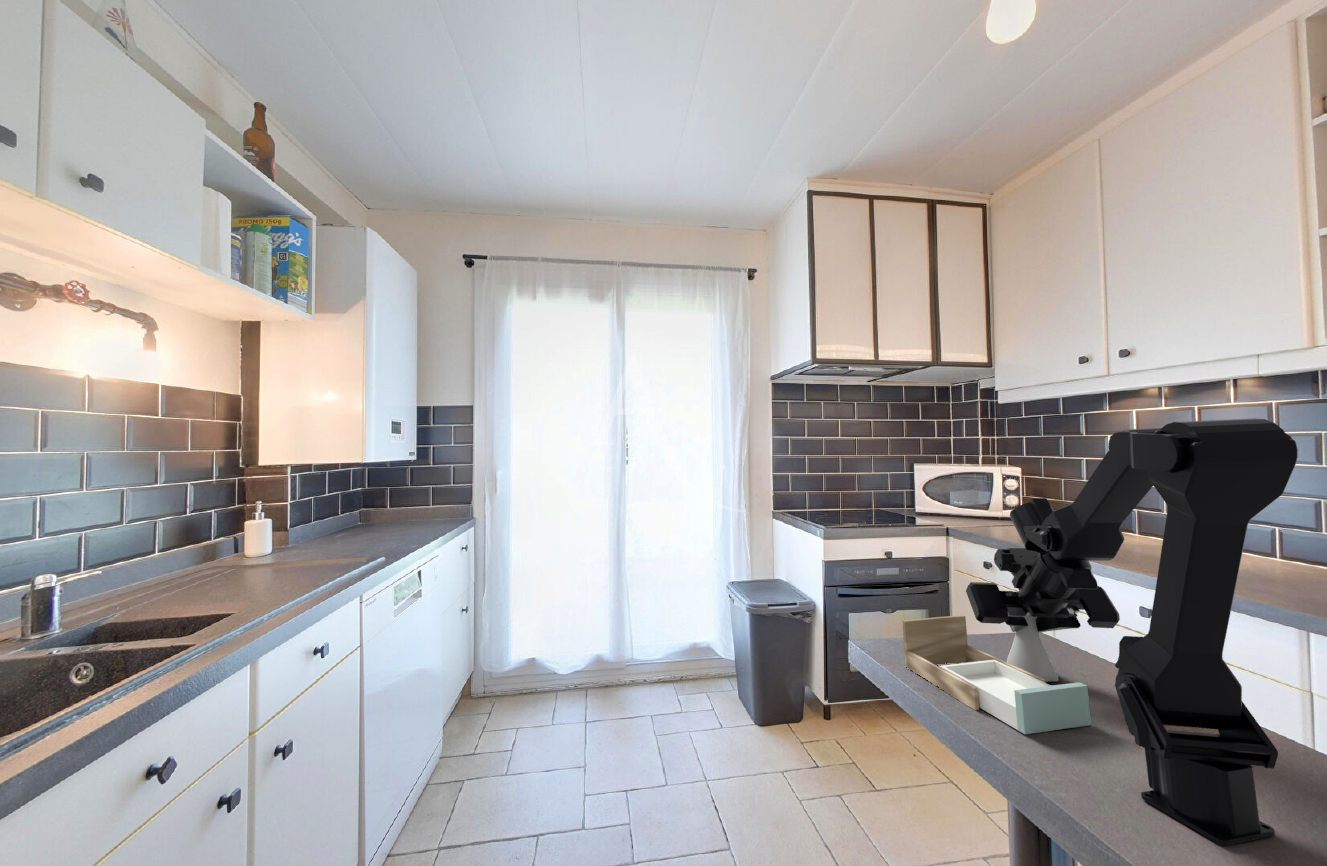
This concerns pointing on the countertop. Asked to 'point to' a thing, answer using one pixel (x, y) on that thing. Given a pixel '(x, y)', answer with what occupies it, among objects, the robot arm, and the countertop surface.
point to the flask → (1031, 652)
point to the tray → (1025, 697)
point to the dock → (944, 654)
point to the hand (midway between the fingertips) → (1022, 629)
